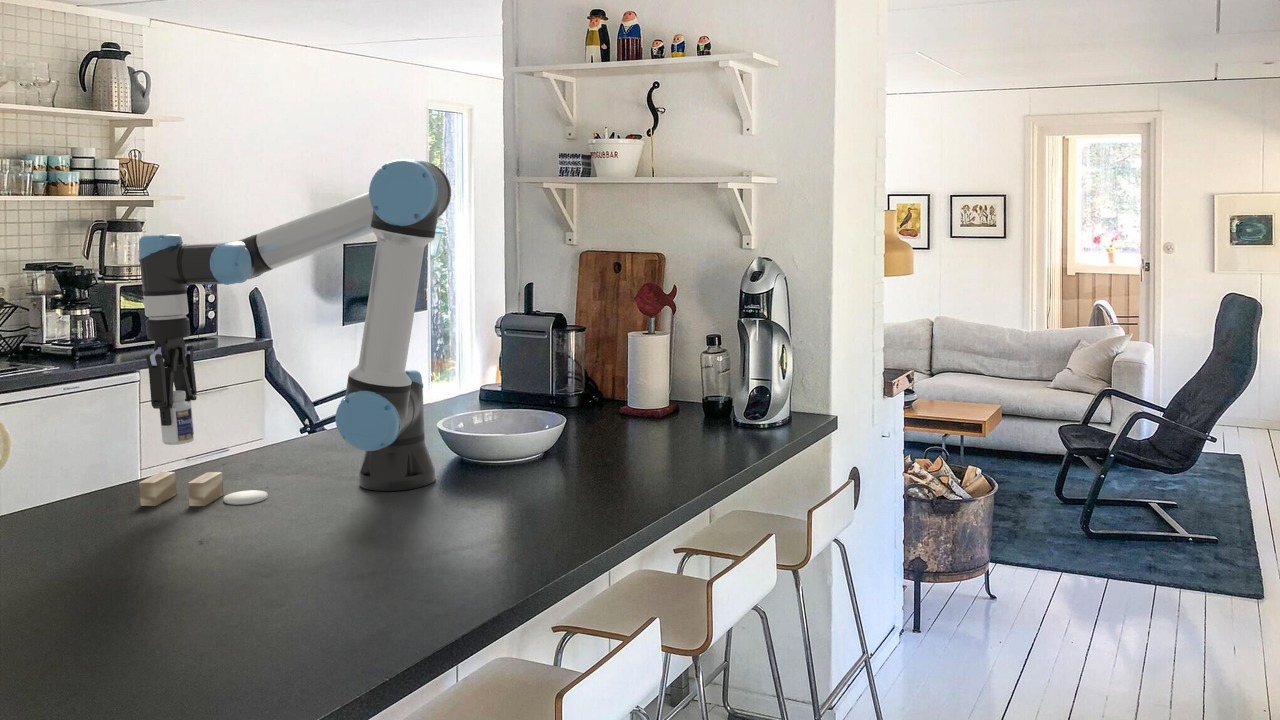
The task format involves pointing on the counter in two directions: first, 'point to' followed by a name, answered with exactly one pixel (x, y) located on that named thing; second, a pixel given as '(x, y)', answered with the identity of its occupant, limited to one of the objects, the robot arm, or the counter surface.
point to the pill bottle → (182, 418)
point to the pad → (245, 497)
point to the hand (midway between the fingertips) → (178, 437)
